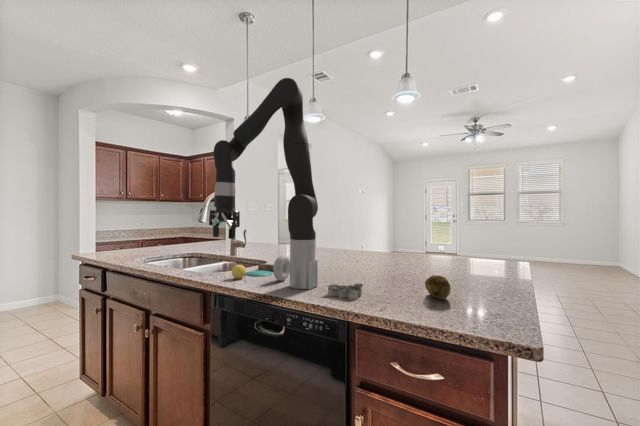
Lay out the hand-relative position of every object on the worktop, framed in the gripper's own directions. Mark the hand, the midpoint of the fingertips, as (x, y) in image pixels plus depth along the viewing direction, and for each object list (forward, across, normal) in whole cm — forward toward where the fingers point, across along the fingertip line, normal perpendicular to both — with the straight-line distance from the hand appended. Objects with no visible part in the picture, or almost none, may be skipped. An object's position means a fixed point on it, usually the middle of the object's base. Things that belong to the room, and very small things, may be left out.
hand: (223, 237), depth 116 cm
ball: (+14, 0, -9) cm, 17 cm away
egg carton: (+16, -47, -10) cm, 51 cm away
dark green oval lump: (+15, -73, -22) cm, 78 cm away
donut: (+17, -17, -16) cm, 28 cm away
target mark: (+17, +1, -21) cm, 27 cm away
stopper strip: (+17, +1, -30) cm, 34 cm away
